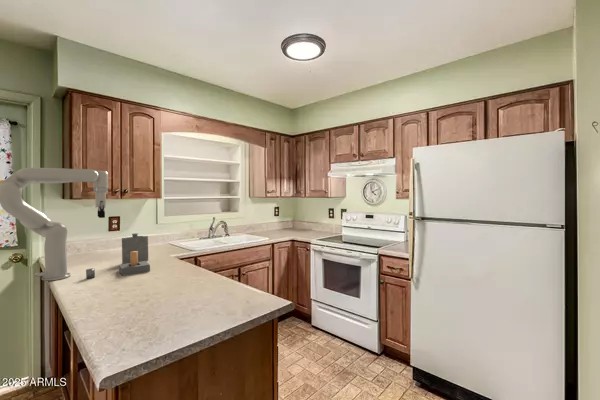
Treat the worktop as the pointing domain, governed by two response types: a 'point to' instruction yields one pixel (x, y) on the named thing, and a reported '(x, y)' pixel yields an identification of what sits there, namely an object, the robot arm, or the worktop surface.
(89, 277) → the short pin
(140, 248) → the hip flask
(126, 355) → the worktop surface
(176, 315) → the worktop surface
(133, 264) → the long pin
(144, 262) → the hole block
